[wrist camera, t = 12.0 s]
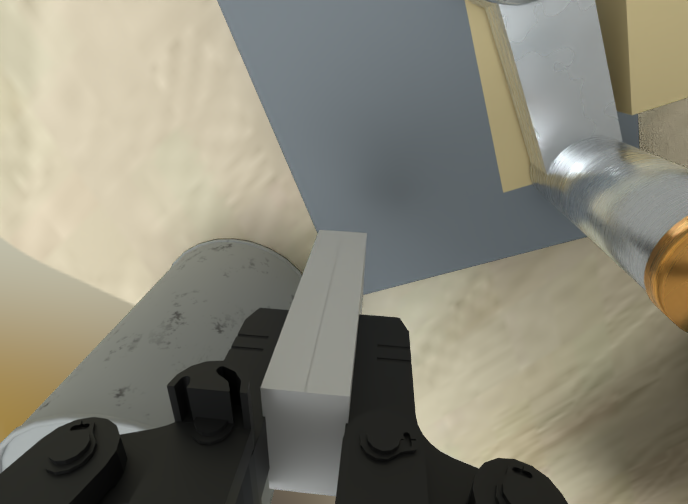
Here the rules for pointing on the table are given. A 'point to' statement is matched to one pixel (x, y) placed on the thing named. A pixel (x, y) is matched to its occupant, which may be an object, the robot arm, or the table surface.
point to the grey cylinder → (165, 341)
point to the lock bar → (592, 145)
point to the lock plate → (429, 121)
